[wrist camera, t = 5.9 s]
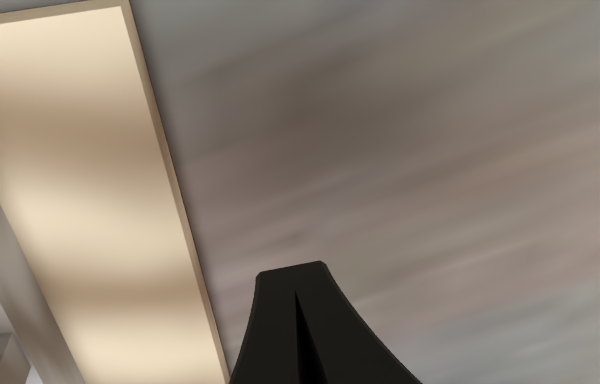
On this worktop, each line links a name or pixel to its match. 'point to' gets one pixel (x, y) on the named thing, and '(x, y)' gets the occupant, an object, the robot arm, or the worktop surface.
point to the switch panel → (93, 212)
